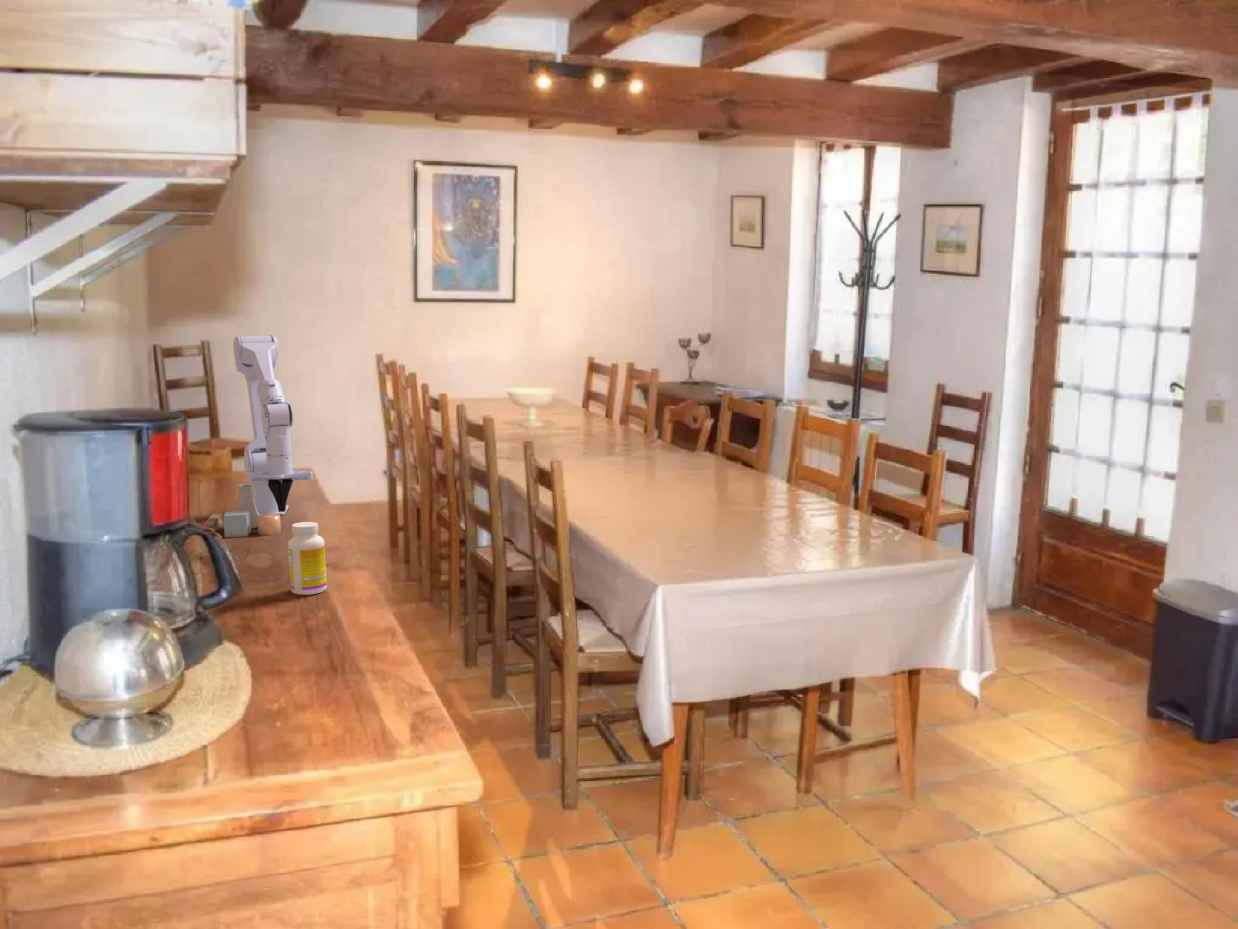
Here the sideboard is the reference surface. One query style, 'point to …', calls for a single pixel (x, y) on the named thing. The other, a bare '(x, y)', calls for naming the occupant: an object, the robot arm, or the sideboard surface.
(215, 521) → the walnut rail
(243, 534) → the slate block
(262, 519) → the peach egg shape
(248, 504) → the flask
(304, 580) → the supplement bottle
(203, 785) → the sideboard surface
